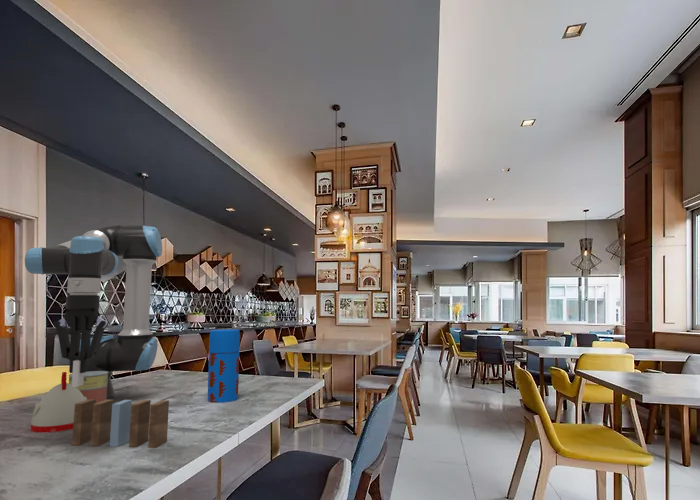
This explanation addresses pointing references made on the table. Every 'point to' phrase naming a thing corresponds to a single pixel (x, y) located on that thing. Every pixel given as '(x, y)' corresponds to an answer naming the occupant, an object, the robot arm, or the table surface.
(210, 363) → the thermos
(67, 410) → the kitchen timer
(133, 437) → the domino
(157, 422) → the domino
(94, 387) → the canned food
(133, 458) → the table surface
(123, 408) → the domino
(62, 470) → the table surface
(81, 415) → the domino
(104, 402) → the domino
